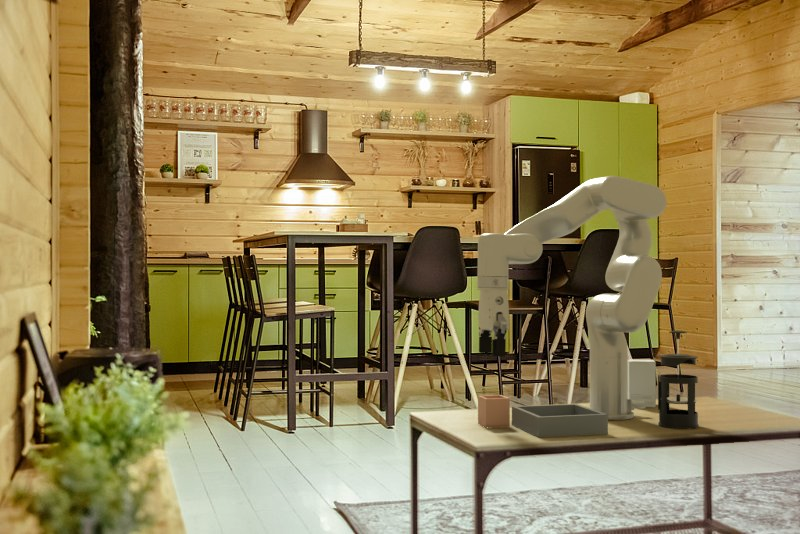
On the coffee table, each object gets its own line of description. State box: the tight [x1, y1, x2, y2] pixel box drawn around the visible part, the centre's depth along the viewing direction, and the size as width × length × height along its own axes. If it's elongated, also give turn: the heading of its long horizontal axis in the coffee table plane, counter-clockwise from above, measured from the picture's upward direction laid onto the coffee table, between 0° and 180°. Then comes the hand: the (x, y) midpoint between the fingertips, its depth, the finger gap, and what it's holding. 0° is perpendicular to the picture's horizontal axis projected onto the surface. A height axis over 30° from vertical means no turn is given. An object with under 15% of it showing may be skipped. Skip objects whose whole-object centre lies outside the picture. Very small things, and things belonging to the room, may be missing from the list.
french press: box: [657, 330, 700, 430], centre depth 215 cm, size 12×9×23 cm
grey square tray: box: [511, 403, 609, 438], centre depth 210 cm, size 17×17×4 cm
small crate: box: [477, 394, 511, 429], centre depth 216 cm, size 6×6×7 cm
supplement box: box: [628, 358, 657, 408], centre depth 248 cm, size 7×7×13 cm
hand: (491, 354), depth 216 cm, fingers open, 9 cm apart
